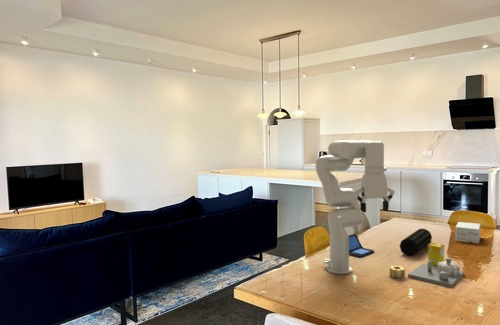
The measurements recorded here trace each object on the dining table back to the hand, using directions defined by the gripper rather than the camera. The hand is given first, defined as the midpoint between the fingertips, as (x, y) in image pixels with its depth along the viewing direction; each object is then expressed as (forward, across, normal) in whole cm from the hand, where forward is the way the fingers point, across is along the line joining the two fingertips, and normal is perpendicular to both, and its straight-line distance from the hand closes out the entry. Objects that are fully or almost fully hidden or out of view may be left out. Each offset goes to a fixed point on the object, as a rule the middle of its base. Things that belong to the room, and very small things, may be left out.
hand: (374, 211), depth 154 cm
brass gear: (+36, -21, -19) cm, 46 cm away
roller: (+36, -57, -59) cm, 90 cm away
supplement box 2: (+36, -99, -72) cm, 128 cm away
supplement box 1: (+36, -48, -30) cm, 67 cm away
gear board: (+36, -39, -16) cm, 55 cm away
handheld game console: (+37, -18, -58) cm, 71 cm away
